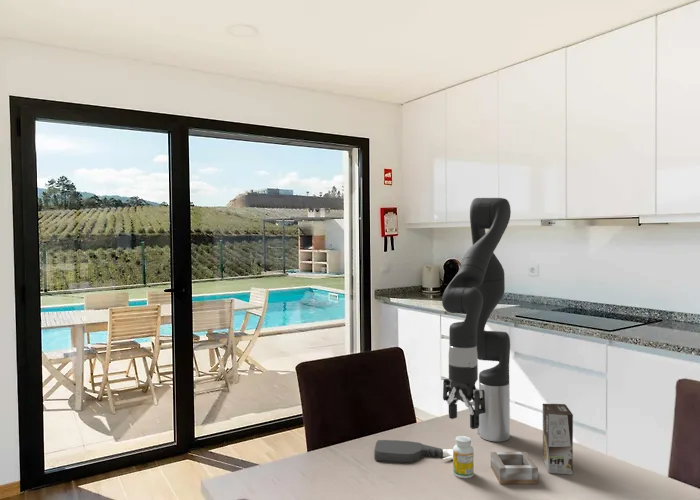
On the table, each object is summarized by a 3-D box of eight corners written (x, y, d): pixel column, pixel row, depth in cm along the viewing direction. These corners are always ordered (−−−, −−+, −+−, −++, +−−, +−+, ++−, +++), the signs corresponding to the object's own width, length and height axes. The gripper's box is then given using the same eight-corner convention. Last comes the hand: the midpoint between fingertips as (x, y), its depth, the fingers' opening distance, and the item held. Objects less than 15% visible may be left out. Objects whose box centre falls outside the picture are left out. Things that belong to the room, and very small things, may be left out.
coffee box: (573, 475, 135) (573, 414, 135) (548, 473, 137) (547, 413, 136) (566, 460, 144) (566, 403, 144) (542, 458, 146) (542, 402, 145)
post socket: (500, 484, 131) (499, 468, 131) (490, 467, 141) (490, 452, 141) (537, 484, 131) (537, 467, 131) (526, 467, 141) (526, 451, 140)
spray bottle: (376, 447, 156) (458, 452, 153) (373, 463, 145) (461, 469, 142) (376, 437, 156) (458, 442, 153) (373, 453, 145) (461, 458, 142)
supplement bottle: (471, 480, 134) (471, 444, 133) (451, 476, 136) (451, 441, 135) (475, 471, 139) (475, 436, 138) (455, 468, 141) (455, 433, 140)
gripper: (435, 358, 141) (435, 417, 141) (470, 370, 128) (470, 434, 128) (456, 355, 144) (457, 413, 144) (492, 366, 132) (493, 429, 132)
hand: (463, 423), depth 136 cm, fingers open, 8 cm apart
